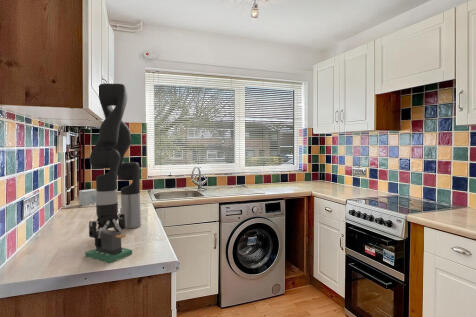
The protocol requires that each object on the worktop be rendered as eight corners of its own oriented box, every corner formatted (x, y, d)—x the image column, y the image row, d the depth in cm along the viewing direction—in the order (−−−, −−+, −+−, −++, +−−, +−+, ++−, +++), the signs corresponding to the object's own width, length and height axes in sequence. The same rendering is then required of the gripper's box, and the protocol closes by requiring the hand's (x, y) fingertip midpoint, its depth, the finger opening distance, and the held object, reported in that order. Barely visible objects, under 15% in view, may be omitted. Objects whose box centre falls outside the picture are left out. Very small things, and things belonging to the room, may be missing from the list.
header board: (85, 256, 112) (84, 240, 111) (108, 247, 120) (107, 233, 120) (109, 263, 105) (109, 246, 104) (132, 253, 114) (131, 238, 113)
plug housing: (96, 246, 113) (95, 231, 113) (105, 243, 116) (104, 228, 116) (119, 252, 107) (118, 236, 106) (127, 249, 110) (127, 233, 110)
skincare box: (83, 206, 203) (82, 191, 203) (79, 205, 207) (78, 190, 207) (98, 203, 211) (97, 189, 211) (93, 202, 215) (93, 188, 215)
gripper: (116, 198, 120) (117, 237, 120) (83, 204, 107) (84, 248, 108) (129, 199, 116) (130, 240, 117) (96, 206, 103) (97, 252, 104)
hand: (108, 244), depth 112 cm, fingers open, 8 cm apart
